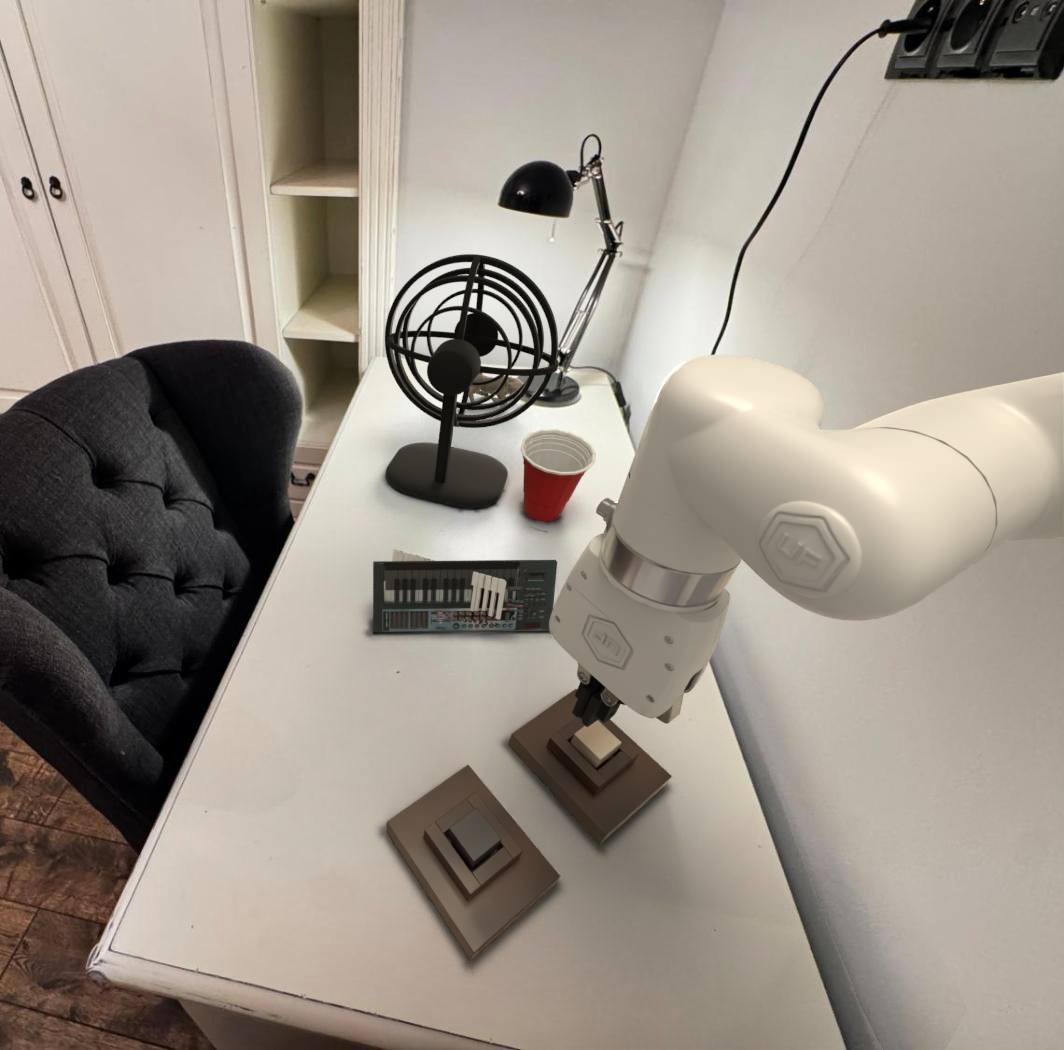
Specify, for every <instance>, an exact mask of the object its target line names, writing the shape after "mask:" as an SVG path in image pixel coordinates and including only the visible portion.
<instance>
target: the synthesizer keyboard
mask: <svg viewBox="0 0 1064 1050" xmlns="http://www.w3.org/2000/svg"><path fill="white" fill-rule="evenodd" d="M557 571H558V561H557V560H556V559H507V560H506V559H497V560H496V559H488V560H485V559H484V560H483V559H482V560H481V559H479V560H434V559H431V558H427V557H425V556H420V555H417V554H413V553H409V552H406V551H402V550H398V549H396V548H395V549H393V551H392V560H384V561H383V560H382V561H381V560H380V561H379V560H376V561H374V560H373V561H372V633H423V632H424V633H428V632H429V633H431V632H432V633H434V632H437V633H439V632H440V633H443V632H445V633H446V632H522V631H523V632H524V631H525V632H527V631H533V632H534V631H550V630H549V620H550V616H551V613H552V610H553V608H554V605H555V595H556V594H555V593H556V582H557Z"/></svg>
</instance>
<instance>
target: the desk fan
mask: <svg viewBox="0 0 1064 1050" xmlns="http://www.w3.org/2000/svg"><path fill="white" fill-rule="evenodd" d="M458 263H471V264H470V267H461V268H457V269H453V270H450V271H447V272H444V273H442V274H440V275H438V276H436V277H435V278H433V279H432V280H430V281H429V282H428V283H427V284H426V285H425V286H424V287H422V289H421V290H419V291H418V292H417V293H416V294H415V295H414V296H413V297H412V298H411V299H410V300H409V302H408V303H407V304H406V306H405V307H404V309H403V310H402V312H401V313H400V316H399V318H398V321H397V324H396V327H395V331H394V332H393V327H394V326H393V325H394V321H395V316H396V313H397V310H398V308H399V306H400V303H401V302H402V300H403V299H404V296H405V295H406V294H407V292H408V291H409V289H411V287H412V286H413V285H414V284H415V283H416V282H417V281H418V280H419V279H421V278H422V277H423V276H425V275H426V274H428V273H430V272H432V271H434V270H436V269H439V268H441V267H444V266H449V265H453V264H458ZM486 266H490V267H494V268H496V269H499V270H501V271H504V272H505V273H507V274H509V275H510V276H511V277H513V278H515V279H516V280H518V281H519V282H520V283H521V284H522V285H524V286H525V287H526V288H527V290H529V292H531V294H532V295H533V296H534V298H535V299H536V300H537V302H538V303H539V306H540V307H541V309H542V311H543V314H544V316H545V319H546V322H547V326H548V328H549V334H550V354H549V353H547V352H545V351H544V347H545V332H544V325H543V321H542V319H541V315H540V312H539V310H538V308H537V306H536V304H535V302H534V300H533V299H532V298H531V296H529V294H528V292H527V291H525V290H524V289H523V287H522V286H520V285H519V284H518V283H517V282H516V281H514V280H513V279H511V278H509V277H508V276H506V275H504V274H502V273H501V272H498V271H495V270H491V269H487V268H486ZM486 277H488V278H486ZM489 278H491V279H489ZM492 279H493V280H492ZM495 280H497V281H499V282H500V283H499V282H497V281H495ZM453 283H465V287H464V288H465V289H462V290H458V291H456V292H454V293H452V294H450V295H448V296H447V297H446V298H444V299H443V300H442V301H441V302H440V303H439V304H438V305H437V306H436V307H435V309H434V310H433V312H432V313H431V314H430V315H428V316H427V317H426V318H425V319H424V320H423V321H422V323H421V324H420V325H419V326H418V327H417V329H416V330H409V326H410V321H411V317H412V315H413V312H414V310H415V308H416V306H417V304H418V302H419V301H420V300H421V298H422V297H423V296H424V295H426V293H428V292H430V291H432V290H434V289H436V288H439V287H441V286H444V285H447V284H453ZM501 283H503V284H504V285H505V286H504V285H502V284H501ZM475 284H477V288H474V285H475ZM506 286H507V287H509V288H510V289H512V291H511V290H510V289H508V288H507V287H506ZM485 287H488V288H490V289H493V290H494V291H496V292H498V293H499V294H501V295H503V296H504V297H505V298H506V299H508V300H509V301H510V302H511V303H512V304H513V305H514V306H515V307H516V308H517V309H518V310H519V312H520V313H521V315H522V317H523V318H524V320H525V321H526V324H527V326H528V329H529V332H530V334H531V338H532V344H533V347H530V346H528V345H523V339H524V336H523V334H524V333H523V327H522V323H521V320H520V318H519V316H518V314H517V312H516V311H515V308H513V306H512V305H511V304H510V303H509V302H508V301H507V300H505V299H504V298H503V297H502V296H500V295H499V294H497V293H495V292H492V291H490V290H487V289H485ZM513 291H514V292H515V293H516V294H517V295H518V296H519V297H520V298H521V299H520V298H519V297H518V296H517V295H516V294H515V293H514V292H513ZM472 294H476V306H475V307H473V306H472V307H471V306H470V302H471V298H472V297H471V296H472ZM462 295H463V298H462V303H461V305H453V306H446V307H443V306H444V305H445V304H446V303H447V302H448V301H450V300H452V299H453V298H456V297H458V296H462ZM484 296H488V297H491V298H492V299H494V300H496V301H497V302H499V303H500V304H501V305H503V306H504V307H505V309H507V310H508V312H509V313H510V314H511V316H512V318H513V320H514V322H515V324H516V328H517V332H518V333H517V334H518V343H516V342H512V341H510V340H509V338H508V336H507V334H506V331H505V330H504V329H503V327H502V326H501V325H500V323H499V322H497V320H496V319H495V318H494V317H492V316H491V315H490V314H488V313H486V312H484V311H483V307H484V304H483V303H484ZM522 300H523V301H522ZM523 302H524V303H525V304H526V306H525V304H524V303H523ZM442 307H443V308H442ZM527 307H528V308H527ZM453 311H455V312H456V311H459V312H460V316H459V320H458V321H457V323H456V326H455V327H454V331H453V332H452V331H440V330H432V326H433V322H434V319H435V317H437V316H439V315H442V314H444V313H448V312H453ZM427 323H428V324H427ZM426 324H427V329H426V330H422V329H423V328H424V326H425V325H426ZM499 335H500V336H501V338H502V339H499ZM409 338H412V340H411V344H410V346H409ZM418 338H426V344H427V349H428V352H429V355H427V354H423V353H419V352H416V351H415V349H416V344H417V340H418ZM431 338H437V339H438V338H439V339H448V340H445V341H443V342H442V343H441V344H439V345H438V347H437V348H436V349H435V351H434V349H433V346H432V339H431ZM401 341H402V342H401ZM400 343H402V344H400ZM401 345H402V346H401ZM384 347H385V355H386V359H387V365H388V366H389V370H390V372H391V375H392V377H393V379H394V381H395V382H396V384H397V386H398V387H399V389H400V391H401V392H402V393H403V394H404V396H405V397H406V398H407V399H408V400H409V401H410V402H411V403H412V404H413V405H414V406H415V407H416V408H417V409H418V410H420V411H421V412H423V413H424V414H426V415H427V416H429V417H430V418H433V419H435V420H436V421H439V422H440V423H439V430H438V431H439V432H438V442H413V443H409V444H406V445H403V446H401V447H400V448H399V449H398V450H397V451H396V453H395V454H394V456H393V457H392V459H391V461H389V463H388V465H387V467H386V469H385V478H386V480H387V482H388V483H389V484H390V485H391V486H392V487H394V488H395V489H396V490H398V491H400V492H402V493H405V494H407V495H410V496H414V497H418V498H422V499H426V500H431V501H434V502H438V503H441V504H442V503H443V504H447V505H450V506H453V507H460V508H470V509H471V508H483V507H487V506H491V505H493V504H494V503H496V502H497V501H499V499H500V497H501V494H502V491H503V489H504V487H505V484H506V482H507V479H508V475H509V473H508V468H507V467H506V466H505V464H504V463H502V462H501V461H500V460H498V459H497V458H495V457H493V456H490V455H489V454H485V453H481V452H478V451H474V450H470V449H465V448H460V447H457V446H456V447H455V446H452V444H453V443H452V442H453V435H454V429H455V428H466V429H482V428H490V427H494V426H495V427H496V426H498V425H502V424H504V423H507V422H509V421H512V420H513V419H515V418H517V417H519V416H520V415H522V414H523V413H524V412H525V411H527V410H528V409H530V408H531V407H532V406H533V405H534V404H535V402H536V401H537V400H538V399H539V398H540V397H541V395H542V394H543V392H544V391H545V389H546V388H547V386H548V384H549V381H550V380H551V378H552V375H553V374H554V373H556V372H557V371H558V370H559V369H558V368H559V364H560V362H559V360H558V359H557V358H558V351H559V334H558V326H557V322H556V318H555V315H554V311H553V310H552V307H551V305H550V303H549V301H548V300H547V297H546V295H544V293H543V291H542V290H541V288H539V286H538V285H537V284H536V283H535V282H534V281H533V280H532V279H531V277H529V276H528V275H527V274H525V273H524V272H523V271H522V270H520V269H519V268H517V267H516V266H514V265H512V264H511V263H509V262H506V261H504V260H502V259H500V258H496V257H493V256H489V255H485V254H475V253H474V254H472V253H467V254H463V253H462V254H455V255H451V256H447V257H444V258H441V259H438V260H436V261H433V262H431V263H429V264H428V265H426V266H424V267H423V268H421V269H420V270H418V271H417V272H416V273H415V274H414V275H413V276H412V277H410V278H409V280H408V281H406V282H405V284H404V285H403V286H402V287H401V288H400V290H399V291H398V293H397V294H396V296H395V298H394V300H393V302H392V304H391V306H390V308H389V312H388V315H387V318H386V322H385V329H384ZM496 347H502V348H506V352H507V368H505V367H495V366H485V365H482V360H481V358H482V357H484V356H487V355H489V354H491V352H492V351H494V349H495V348H496ZM512 350H513V351H516V354H515V355H514V359H513V354H512ZM521 352H522V353H525V354H528V355H531V356H533V359H532V360H533V362H532V366H531V368H513V367H514V366H515V364H516V363H517V361H518V359H519V356H520V355H521ZM402 355H403V356H404V359H405V362H406V364H407V367H408V369H409V371H410V373H411V375H412V377H413V378H414V380H415V381H416V382H417V383H418V385H419V386H420V387H421V388H422V389H423V390H424V391H425V392H426V393H427V394H428V395H429V396H430V397H432V398H433V399H435V401H436V400H437V401H438V402H440V403H441V404H442V405H441V407H440V406H438V405H435V404H434V403H433V402H431V401H429V400H428V399H427V398H425V396H424V395H422V394H421V393H420V392H419V390H418V389H417V388H416V387H415V386H414V384H413V383H412V381H411V380H410V378H409V376H408V374H407V372H406V370H405V367H404V364H403V360H402ZM416 360H417V361H420V362H424V363H428V364H427V368H426V376H427V380H428V382H429V384H430V385H431V386H432V387H431V386H430V385H429V384H428V383H427V382H426V381H425V379H424V378H423V377H422V376H421V374H420V372H419V371H418V368H417V364H416ZM542 360H543V361H545V362H546V363H548V366H544V367H540V365H541V361H542ZM479 373H482V374H487V375H488V374H489V375H496V376H493V377H494V378H492V379H489V380H485V381H474V380H475V379H476V377H477V376H478V374H479ZM503 376H505V377H504V380H503V381H502V383H501V384H500V386H499V387H498V388H497V389H496V390H495V391H494V392H493V393H492V394H489V396H487V397H484V398H482V399H478V400H475V402H471V401H469V402H468V400H469V397H468V396H469V391H470V386H471V385H485V384H489V383H492V382H494V381H496V380H498V379H500V378H502V377H503ZM509 376H512V377H527V378H526V379H525V381H524V382H523V384H522V385H521V386H520V387H519V388H518V389H517V390H516V391H514V392H513V393H511V394H510V395H509V394H508V395H506V397H505V398H503V399H500V400H498V401H495V402H493V401H492V402H491V401H490V400H491V398H495V396H497V395H496V394H497V393H498V392H499V391H500V390H501V389H502V387H503V386H504V384H505V382H506V381H507V379H508V377H509ZM539 376H544V378H543V380H542V382H541V384H540V385H539V386H538V388H537V389H536V391H535V392H533V394H532V395H531V396H530V397H529V398H528V399H526V401H525V402H524V403H522V404H521V405H520V406H518V407H517V408H515V409H514V410H512V411H510V412H508V413H507V414H504V415H501V414H503V413H505V412H507V411H508V410H510V409H511V408H513V407H514V406H515V405H516V404H517V403H518V402H520V400H522V398H524V397H523V396H524V394H525V395H526V393H527V392H528V390H529V389H530V387H531V385H532V383H533V381H534V379H535V377H539ZM461 394H462V397H461V401H458V395H461ZM488 401H490V402H488ZM486 402H487V403H486ZM505 403H507V404H506V405H504V406H502V407H500V405H503V404H505ZM497 407H499V408H497ZM494 408H496V409H494ZM458 409H459V410H458ZM490 409H494V410H491V411H488V412H484V413H479V414H466V413H465V412H466V411H484V410H490ZM499 415H501V416H499ZM496 416H498V417H496Z"/></svg>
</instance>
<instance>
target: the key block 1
mask: <svg viewBox="0 0 1064 1050" xmlns="http://www.w3.org/2000/svg"><path fill="white" fill-rule="evenodd" d="M475 808H478V810H479V811H480V812H481V813H482V815H483V816H484V817H485V818H486V820H487V821H488V822H489V824H490V825H491V826H492V827H493V829H494V830H495V831H496V832H497V834H498V835H499V836H500V837H501V839H502V840H501V842H500V845H499V847H498V848H497V849H496V850H494V851H493V852H492V853H491V854H490V855H488V856H487V857H486V858H485V859H483V860H482V861H481V862H480V863H478V864H477V865H476V866H475V867H473V868H472V869H471V868H470V867H469V865H468V864H467V862H466V861H465V860H464V858H463V857H462V856H461V854H460V853H459V851H458V850H457V849H456V847H455V846H454V844H453V843H452V842H451V840H450V839H449V838H448V831H449V828H450V827H451V826H452V825H454V824H455V823H456V822H458V821H459V820H460V819H462V818H463V817H464V816H466V815H467V814H468V813H470V812H471V811H472V810H474V809H475ZM385 831H386V833H387V835H388V836H389V838H390V840H391V841H392V843H393V844H394V845H395V847H396V849H397V850H398V852H399V853H400V855H401V857H402V858H403V860H404V861H405V862H406V864H407V866H408V867H409V869H410V870H411V872H412V874H413V875H414V877H415V878H416V879H417V881H418V882H419V884H420V886H421V888H422V889H423V891H424V892H425V893H426V895H427V896H428V898H429V899H430V901H431V902H432V904H433V906H434V907H435V909H436V910H437V911H438V913H439V915H440V916H441V918H442V919H443V921H444V923H445V924H446V925H447V927H448V928H449V929H450V932H451V933H452V935H453V936H454V938H455V939H456V941H457V942H458V944H459V945H460V947H461V948H462V950H463V951H464V953H465V954H466V956H467V958H468V959H469V960H470V961H472V960H473V959H474V958H476V957H477V956H478V955H479V954H480V953H481V952H483V950H485V948H487V947H488V946H489V945H490V944H491V943H492V942H493V941H495V940H496V939H497V938H498V937H499V936H500V935H501V934H503V932H504V931H505V930H507V929H508V928H509V927H510V926H512V924H514V922H516V921H517V920H518V919H519V918H520V917H521V916H523V914H525V913H526V912H527V911H528V910H529V909H530V908H531V907H532V906H534V905H535V904H536V903H537V902H538V901H539V900H540V899H541V898H542V897H543V896H544V895H546V894H547V893H548V892H549V891H550V890H551V889H553V888H554V886H555V885H556V884H557V882H558V881H559V879H560V878H561V874H559V873H558V871H557V870H556V869H555V867H554V866H553V865H552V864H551V863H550V861H549V860H548V859H547V858H546V856H544V854H543V853H542V852H541V850H540V849H539V848H538V847H537V846H536V845H535V843H534V842H533V841H532V839H530V837H529V836H528V834H526V832H525V831H524V830H523V828H521V826H520V825H519V824H518V823H517V822H516V820H515V819H514V818H513V817H512V815H511V814H510V813H509V812H508V810H507V809H505V807H504V806H503V805H502V803H501V802H500V801H499V800H498V798H497V797H496V796H495V795H494V794H493V793H492V791H491V790H490V789H489V787H488V786H486V784H485V783H484V782H483V780H482V779H481V777H479V776H478V775H477V773H476V772H475V771H474V769H472V767H471V766H470V764H466V766H464V767H462V768H461V769H460V770H458V771H457V772H455V773H454V774H452V775H451V776H450V777H448V778H446V779H445V780H444V781H443V782H441V783H439V785H437V786H436V787H434V788H433V789H431V790H430V791H428V792H427V793H425V794H424V795H422V796H421V797H420V798H418V799H417V800H416V801H414V802H413V803H411V804H410V805H408V806H407V807H406V808H404V809H403V810H401V811H400V812H399V813H397V814H396V815H394V816H393V817H391V818H390V819H389V820H387V821H386V828H385Z"/></svg>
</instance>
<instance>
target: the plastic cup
mask: <svg viewBox="0 0 1064 1050" xmlns="http://www.w3.org/2000/svg"><path fill="white" fill-rule="evenodd" d="M520 451H521V453H522V459H523V462H522V463H523V485H522V486H523V487H522V489H523V490H522V491H523V502H522V503H523V504H522V505H523V510H524V512H525V514H526V515H527V516H528V517H529V518H531V519H534V520H535V521H539V522H552V521H555V520H557V519H558V518H559V517H560V516H561V515H562V513H563V512H564V510H565V507H566V506H567V504H568V502H569V501H570V499H571V497H572V495H573V494H574V492H575V491H576V489H577V487H578V484H579V483H580V481H581V479H582V477H583V476H584V475H585V474H586V472H587V471H588V470H589V469H590V468H591V467H593V466H594V465H595V463H596V458H597V452H596V450H595V449H594V446H593V445H592V444H591V443H590V442H588V441H587V440H586V439H585V438H583V437H582V436H580V435H577V434H575V433H573V432H571V431H567V430H561V429H556V428H550V429H547V428H546V429H539V430H536V431H532V432H530V433H529V434H527V435H526V436H524V438H522V441H521V445H520Z"/></svg>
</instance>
